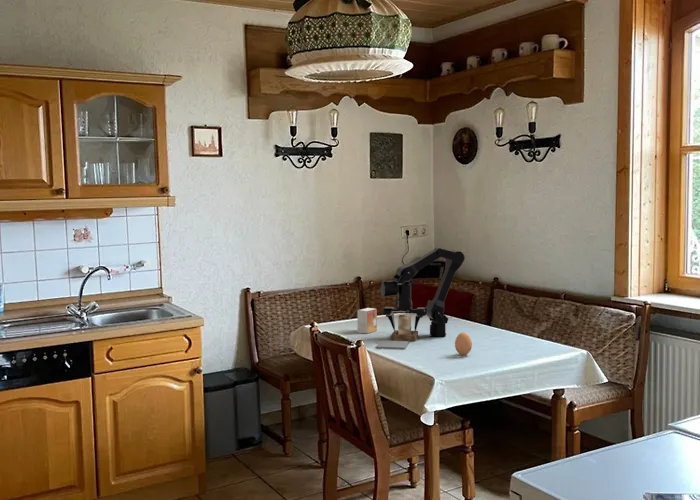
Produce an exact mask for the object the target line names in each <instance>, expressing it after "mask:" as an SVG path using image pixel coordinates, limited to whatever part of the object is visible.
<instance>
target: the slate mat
mask: <svg viewBox="0 0 700 500" xmlns="http://www.w3.org/2000/svg"><path fill="white" fill-rule="evenodd" d="M409 344H410V341H391V340H383V339H382V340H380V341H379V342H378V343H377V345H376V346H375V348H376V349H379V350H381V349H382V348H383V350H406V348H408V345H409Z"/></svg>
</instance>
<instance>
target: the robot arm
mask: <svg viewBox="0 0 700 500" xmlns="http://www.w3.org/2000/svg"><path fill="white" fill-rule="evenodd" d="M439 258H441V259H445V269H444V272H443V275H442V277H441V280H440V283H439V284H438V287H437V289H436V292H435V294H434V297H433V298H432V300H430V299H428V301H427V304H426V306H425V307H421V306H420V307H419V306H418V307H417V308H415V309H414V308H413V301H412V286H415V285H416V284H417V283H416V282H414V281H413V278H414V277H415V276H416V275H417V273H418V272H420V271H421V270H422V269H424V268H426V266H428V265H430V264H431V263H433V262H435V261H436V260H438V259H439ZM464 261H465V254H464V253H463V252H462V251H459V250H454V249H453V250H448V249H444V248H443V247H434V248H433V249H432V250H431V251H429V252H428V253H425V254H424V255H423V256H421V257H419V258H418V259H416V260H414V261H413V262H410V263H406V264H404V265H400V266H398V267H397V268H396V272H395V274H394V276H393V277H392V278H391V280H382V281H381V286H380V288H379V289H380V295H381V296H382V297H385V298H386V297H395V296H397V298H396V306H397V308H394V307H393V306H385V307H383V309H382V315H384V316H385V317H386V318H388V320H389V322H390V324H391V327H392V329H393V331H394V330H396V323H395V314H416V316H415V318H414V331H417V329H418V325H419V321H420V319H422V318H424V317H426V316H427V317H428V319H429V321H431V322H430V324H429V335H430V338H431V337H432V338H433V337H434V338H436V337H437V338H445V337H447V326H446V325H447V324H448V322H449V317H448V316H447V315H446V314H444V313H445V300H446V298H447V296H448V292H449V290H450V288H451V286H452V282H453V279H454V277H455V275H456V273H457V271H458V270H459V269H460V268H461V266H462V265H463V263H464Z"/></svg>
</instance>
